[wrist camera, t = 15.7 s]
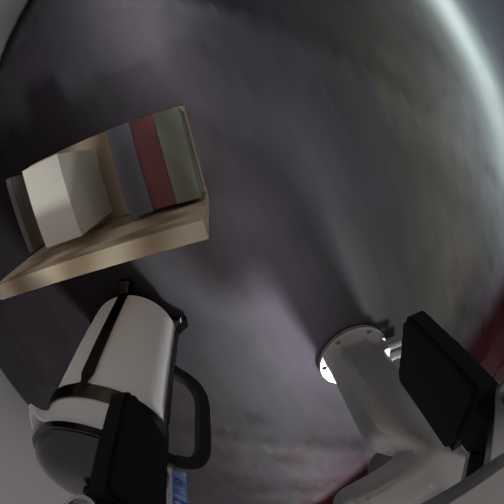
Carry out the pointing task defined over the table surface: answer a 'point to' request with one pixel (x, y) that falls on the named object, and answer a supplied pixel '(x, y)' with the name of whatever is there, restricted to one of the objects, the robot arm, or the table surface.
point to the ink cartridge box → (176, 488)
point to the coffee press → (116, 389)
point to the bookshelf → (123, 203)
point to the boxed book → (67, 195)
